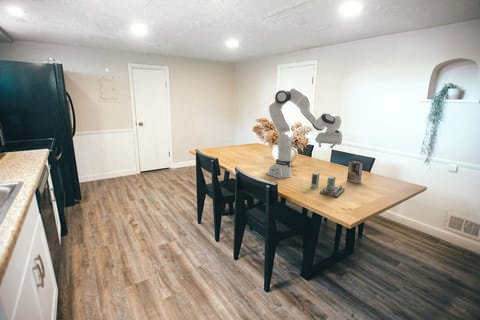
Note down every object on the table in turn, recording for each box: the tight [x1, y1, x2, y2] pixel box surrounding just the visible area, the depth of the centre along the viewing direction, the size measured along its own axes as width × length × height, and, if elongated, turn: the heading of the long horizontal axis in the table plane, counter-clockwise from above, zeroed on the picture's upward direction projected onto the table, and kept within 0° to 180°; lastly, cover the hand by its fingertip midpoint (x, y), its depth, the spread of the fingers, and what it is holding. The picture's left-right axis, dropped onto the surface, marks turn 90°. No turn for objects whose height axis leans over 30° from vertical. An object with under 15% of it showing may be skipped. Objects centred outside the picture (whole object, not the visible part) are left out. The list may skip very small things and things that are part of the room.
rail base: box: [319, 176, 345, 199], centre depth 177 cm, size 12×18×12 cm, turn 142°
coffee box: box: [346, 160, 364, 184], centre depth 201 cm, size 9×6×16 cm
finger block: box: [310, 171, 320, 189], centre depth 187 cm, size 4×4×11 cm
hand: (325, 147), depth 192 cm, fingers open, 8 cm apart
